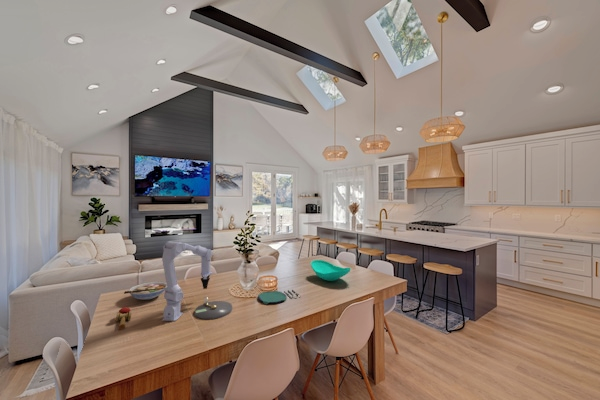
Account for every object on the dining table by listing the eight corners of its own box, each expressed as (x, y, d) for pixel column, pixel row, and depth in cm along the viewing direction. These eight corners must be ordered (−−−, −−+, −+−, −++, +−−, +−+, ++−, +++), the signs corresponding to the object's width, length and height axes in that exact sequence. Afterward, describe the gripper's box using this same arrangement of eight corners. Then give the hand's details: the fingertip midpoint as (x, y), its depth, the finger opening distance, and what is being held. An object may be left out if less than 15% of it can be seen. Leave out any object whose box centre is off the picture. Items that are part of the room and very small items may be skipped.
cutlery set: (254, 295, 178) (254, 292, 178) (292, 290, 191) (292, 287, 191) (262, 307, 160) (263, 303, 160) (303, 300, 173) (304, 297, 173)
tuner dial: (226, 319, 142) (226, 316, 142) (188, 319, 141) (188, 316, 141) (235, 303, 164) (235, 301, 164) (202, 303, 163) (202, 300, 163)
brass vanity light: (217, 307, 153) (217, 299, 153) (213, 309, 150) (213, 301, 150) (205, 303, 159) (205, 296, 159) (201, 305, 156) (201, 297, 156)
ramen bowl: (170, 290, 185) (170, 279, 185) (167, 302, 164) (167, 289, 164) (131, 294, 175) (131, 282, 175) (122, 307, 154) (122, 294, 154)
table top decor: (302, 277, 221) (303, 262, 221) (323, 271, 240) (323, 258, 240) (337, 289, 192) (337, 273, 192) (357, 282, 211) (358, 266, 211)
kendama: (132, 329, 132) (133, 311, 147) (129, 319, 130) (131, 302, 145) (114, 336, 128) (118, 317, 143) (112, 325, 126) (115, 307, 142)
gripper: (211, 269, 160) (211, 289, 160) (212, 263, 173) (211, 282, 173) (200, 269, 157) (199, 290, 157) (201, 264, 171) (201, 283, 171)
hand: (205, 286), depth 165 cm, fingers open, 7 cm apart
